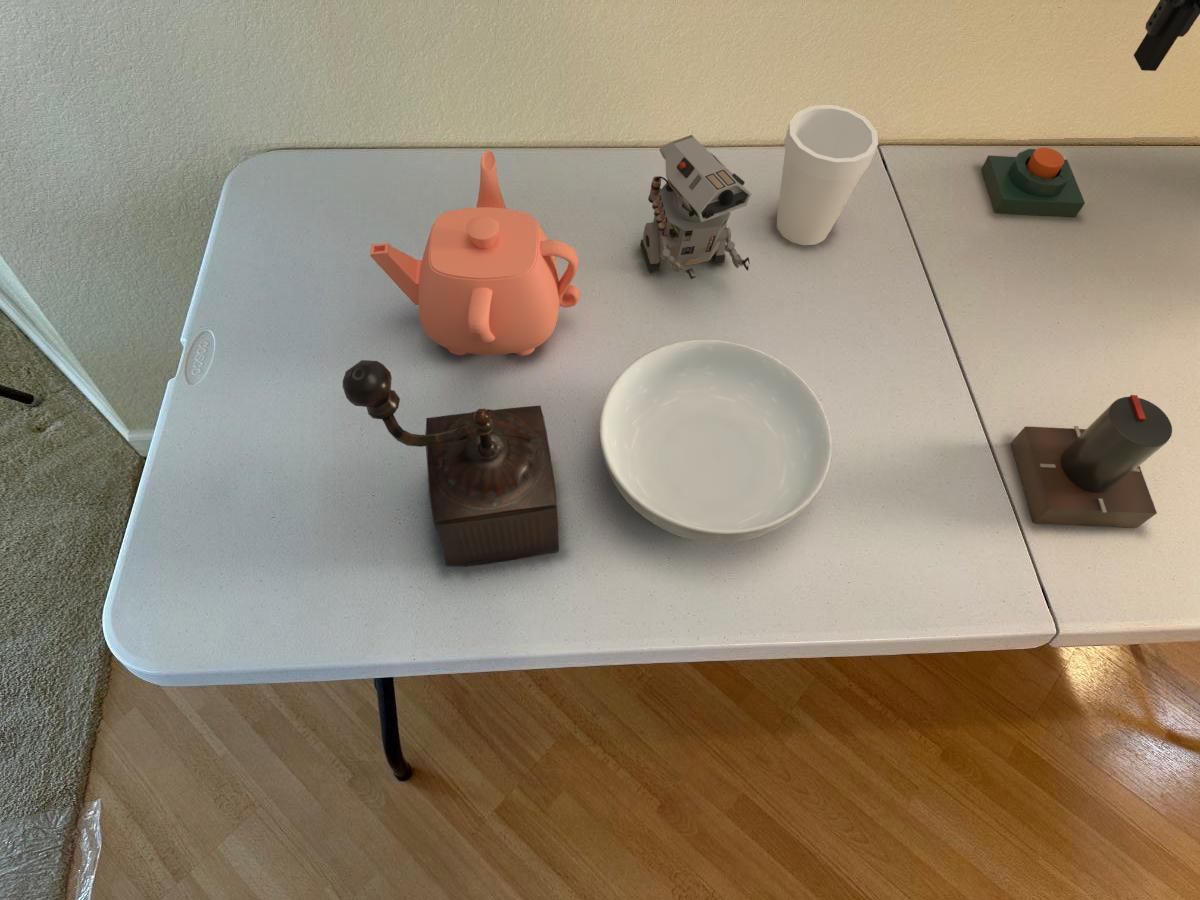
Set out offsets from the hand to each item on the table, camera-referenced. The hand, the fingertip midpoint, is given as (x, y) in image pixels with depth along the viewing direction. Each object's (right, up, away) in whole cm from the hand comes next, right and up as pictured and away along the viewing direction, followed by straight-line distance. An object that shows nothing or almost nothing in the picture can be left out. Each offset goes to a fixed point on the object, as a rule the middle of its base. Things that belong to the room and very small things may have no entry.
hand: (1144, 62), depth 86 cm
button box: (-4, -9, +15) cm, 18 cm away
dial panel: (-12, -44, -7) cm, 46 cm away
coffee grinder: (-70, -47, -11) cm, 85 cm away
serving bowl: (-48, -43, -7) cm, 65 cm away
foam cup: (-34, -15, +11) cm, 38 cm away
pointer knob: (-12, -43, -10) cm, 45 cm away
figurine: (-48, -21, +6) cm, 53 cm away
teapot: (-70, -27, +2) cm, 75 cm away
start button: (-4, -7, +12) cm, 15 cm away
